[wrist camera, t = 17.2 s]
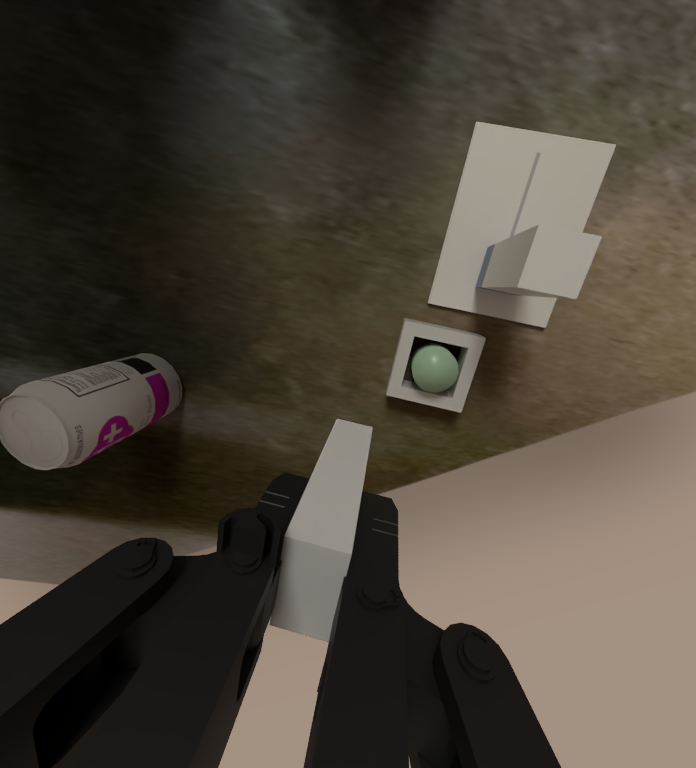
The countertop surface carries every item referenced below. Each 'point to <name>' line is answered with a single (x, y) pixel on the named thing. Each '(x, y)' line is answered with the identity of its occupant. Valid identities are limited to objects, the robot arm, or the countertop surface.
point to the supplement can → (86, 410)
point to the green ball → (434, 367)
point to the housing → (466, 362)
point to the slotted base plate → (513, 210)
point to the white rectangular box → (539, 263)
